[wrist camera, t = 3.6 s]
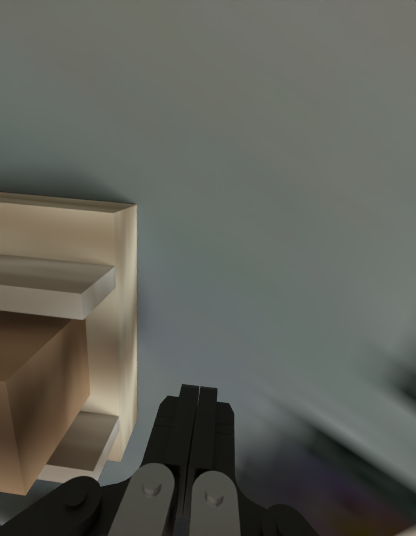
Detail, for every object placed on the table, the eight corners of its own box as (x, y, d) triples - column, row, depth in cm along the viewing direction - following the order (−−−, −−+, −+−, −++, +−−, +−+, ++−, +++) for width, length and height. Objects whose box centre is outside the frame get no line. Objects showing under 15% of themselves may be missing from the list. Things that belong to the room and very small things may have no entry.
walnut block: (-18, 295, 14) (-148, 361, 9) (84, 307, 14) (5, 381, 9) (-2, 382, 16) (-105, 475, 11) (90, 394, 15) (25, 495, 11)
